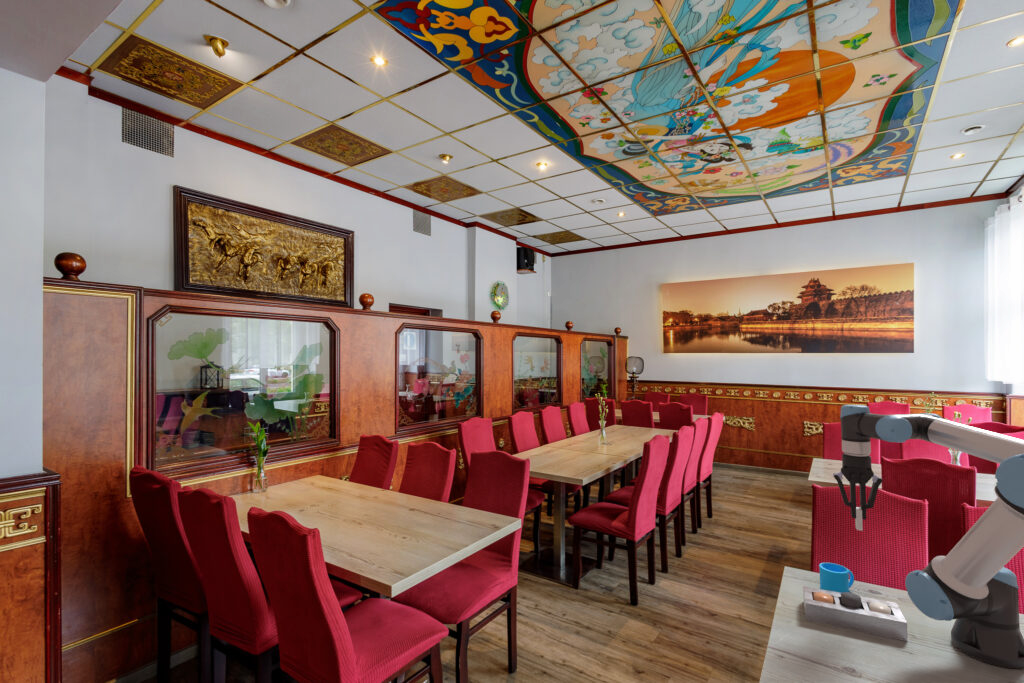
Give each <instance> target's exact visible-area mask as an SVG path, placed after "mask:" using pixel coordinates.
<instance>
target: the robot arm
mask: <svg viewBox="0 0 1024 683" xmlns="http://www.w3.org/2000/svg"><path fill="white" fill-rule="evenodd" d="M839 419H840V428H841V429H840V430H841V431H840V433H841V436H840V437H841V452H843V453H842V454H841V460H842V461H841V462H842V463H841V464H842V465H841V466H842V467H841V468H840V471H838V472H837V473H833V474H832V476H833V478H834V479H835V481H836V482H837V485H838V488H839V491H840V495H841V498H842V501H843V504H844V505H845V506H846V507H850V516H851V518H852V519H855V521H854V522H855V524H854V525H855V529H856V531H861V532H862V531H864V528H863V527H864V526H863V520H867V510H868V509H873V508H874V506H875V502H876V498H877V495H878V494H877V493H878V491H879V487H880V485H881V484H882V483H883V479H882V477H881V476H877V475H876V474H874V471H873V470H872V456H871V454H872V448H871V444H872V443H871V439H875V440H880V441H885V442H887V443H888V442H889V443H899V444H900V443H906V441H908V440H921V441H926V442H929V443H931V444H936V445H938V446H942V447H945V448H948V449H951V450H955V451H957V452H960V453H964V454H967V455H971V456H973V457H976V458H979V459H982V460H987V461H989V462H993V463H995V464H999V465H998V467H997V468H996V470H995V475H994V478H995V479H996V482H995V484H996V485H995V486H994V490H993V491H994V493H995V495H996V497H997V498H995V500H994V501H993V502H992V503H991V504H990V506H989V507H988V508H987V509H986V511H984V512H983V513H982V514H981V516H980V517H979V518H978V519H977V521H976V522H975V523H974V524H973V525H972V526H971V527H970V528H969V529H968V531H966V533H965V534H964V535H963V536H962V537H961V539H960V540H959V541H958V542H957V543H956V544H955V545H954V547H953V548H952V549H951V550H950V551H949V552H948V554H946V555H936V556H935V557H933V559H932V560H930V561H929V563H928V564H927V565H926V566H925V567H924V568H923V569H921V570H919V569H916V570H913V571H910V572H908V574H906V577H905V580H904V581H905V589H906V591H907V595H908V597H909V599H910V601H911V602H912V603H913V605H914V606H915V607H916V608H917V609H918V610H919V611H920V612H921V614H924V615H925V616H926V617H928V618H930V619H931V620H935V621H948V622H950V621H953V620H955V621H954V623H953V624H952V625H953V626H952V628H951V631H950V640H951V643H952V644H953V646H955V647H956V649H958V650H959V651H961V652H962V653H964V654H966V655H967V656H970V657H972V658H973V659H976V660H979V661H981V662H983V663H986V664H991V665H992V666H993V665H994V666H997V667H1001V668H1007V669H1014V670H1022V669H1024V636H1023V633H1022V631H1021V629H1020V628H1021V626H1020V625H1021V624H1020V604H1019V588H1020V587H1019V586H1018V580H1017V579H1018V578H1017V575H1016V574H1015V573H1014V572H1013V571H1012V570H1011V569H1009V568H1007V567H1005V565H1008V563H1009V562H1010V561H1011V560H1012V559H1013V558H1014V557H1015V556H1016V555H1017V554H1018V552H1020V551H1021V549H1023V548H1024V439H1023V438H1022V439H1021V438H1017V437H1014V436H1010V435H1006V434H1002V433H998V432H994V431H990V430H986V429H982V428H979V427H975V426H970V425H967V424H963V423H959V422H955V421H952V420H949V419H948V420H947V419H944V418H943V417H942V416H941V415H939V414H936V413H930V412H929V413H928V412H919V413H918V412H917V413H904V414H903V413H899V414H878V413H871V411H870V407H869V406H868V405H864V404H844V405H842V406H841V407H840V417H839ZM843 476H844V477H845V479H846V481H847V482H849V499H848V495H847V493H846V488H845V487H844V483H843V481H842V480H843V479H844V478H843ZM870 480H872V484H871V488H870V492H869V495H868V500H867V495H866V492H867V490H866V487H867V486H866V484H867V483H868V482H869V481H870ZM857 484H859V503H860V504H859V505H860V506H857V495H856V494H857V492H856V487H857Z"/></svg>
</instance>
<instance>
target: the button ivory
mask: <svg viewBox="0 0 1024 683" xmlns="http://www.w3.org/2000/svg"><path fill="white" fill-rule="evenodd" d="M869 608H870V611H873V612H878V613H884V614H889V615H891V608H890V607H888V606H887V605H884V604H881V603H876V602H872V603H870V604H869Z"/></svg>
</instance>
